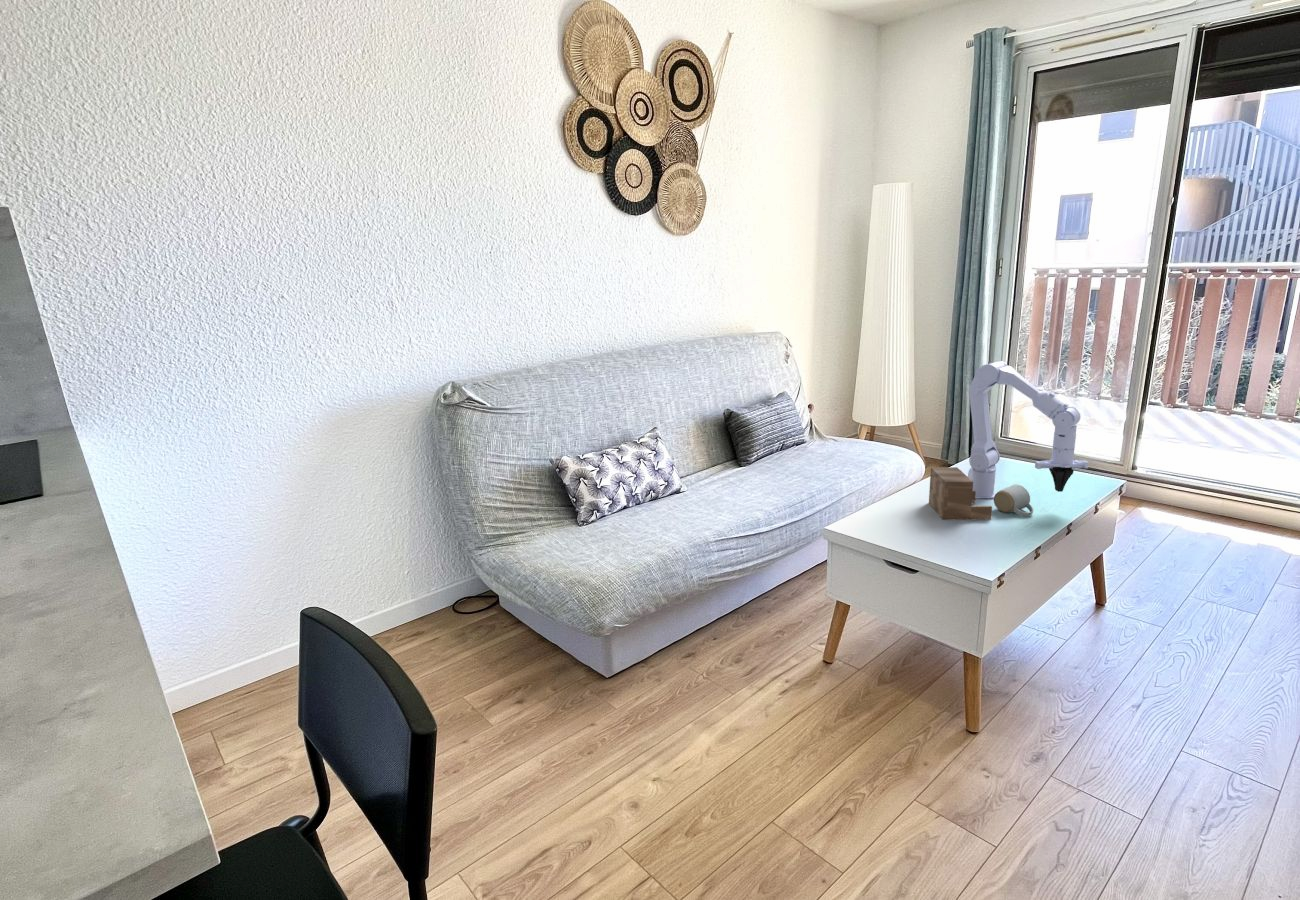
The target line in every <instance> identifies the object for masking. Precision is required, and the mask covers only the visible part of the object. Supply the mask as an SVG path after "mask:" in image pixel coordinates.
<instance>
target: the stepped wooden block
mask: <svg viewBox="0 0 1300 900" xmlns="http://www.w3.org/2000/svg"><path fill="white" fill-rule="evenodd" d="M929 478H930V479H929V492H928V504H929V505H930V506H931V507H932V508H933V510H934V511H935V512H936V513H937V514H938V516H939V517H940V518H941V519H942V520H943V521H944V520H992V513H993V511H992V510H993V506H992V505H975V504H976V498H975V495H976V492H975V491H973V481H972V480H971V479H970V478H969V477H968V475H966V474H965V473H964V472H963V471H962V470H961V469H959V467H957V466H955V467H952V466H950V467H943V466H942V467H930V477H929ZM973 504H974V505H973Z"/></svg>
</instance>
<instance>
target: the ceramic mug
mask: <svg viewBox="0 0 1300 900" xmlns="http://www.w3.org/2000/svg"><path fill="white" fill-rule="evenodd" d="M994 494H995V496H994V498H993V503H994V506H995V508H996V509H997V510H998V511H1000V512H1002V513H1008V514H1009V513H1012V512H1014V513H1015V514H1017V515H1019V516H1021V517H1025V516H1028V517H1031V516H1032V514H1033V513H1034V508H1033V506H1032V505H1031V504H1030V503H1031V495H1030V493H1029V491H1028V490H1027V489H1026V488H1025V487H1024V486H1023V485H1020V484H1013V485H1009V486H1007V487H1005V488H1003V489H1000V490H998V491H997V492H996V493H994ZM1025 508H1026V509H1027V510H1029V512H1026V511H1022V509H1023V510H1024V509H1025ZM1030 515H1031V516H1030Z"/></svg>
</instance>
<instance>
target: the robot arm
mask: <svg viewBox="0 0 1300 900" xmlns="http://www.w3.org/2000/svg"><path fill="white" fill-rule="evenodd" d="M996 384H997V385H1007V386H1011V387H1012V388H1014V389H1015V390H1017V391H1018V392H1020V393H1021V394H1022V395H1024V396H1026V397H1027V398H1028V399H1030V400H1031V401H1032V406H1033V407H1034V408H1035V409H1037V410H1038V411H1039V412H1041V413H1042V414H1044V415H1045V416H1046V417H1047V418H1049V419H1050V420H1051V421H1052V424H1053V426H1054V432H1053V440H1052V441H1053V442H1052V447H1051V448H1052V449H1051V458H1050V459H1046V460H1037V461H1035V464H1034V468H1035V469H1037V470H1041V469H1049V472H1050V475H1051V477H1052V479H1053V484H1054V490H1055V491H1056V492H1061V493H1063V491H1064V489H1065V486H1066V484H1067V483H1068V481H1069V479H1070V478H1071V477H1072V476H1073V475H1074V469H1081V468H1083V469H1089V465H1090V462H1089V461H1087V460H1082V459H1081V460H1079V459H1074V457H1075V447H1076V439H1077V426H1078V425H1077V424H1078V423H1079V422H1080V420H1081V413H1080V412H1079V410H1078V409H1077V408H1076V407H1075V406H1069V404H1068V403H1067V402H1065V403H1064V402H1062V401H1061V400H1060V399H1058V398H1057V397H1056V394H1055V393H1054V392H1053V391H1051V392H1049V391H1047V390H1045V391H1040V390H1039V388H1037V387H1036V386H1034V384H1032V383H1031V382H1030V381H1028V380H1027V379H1026V378H1025V377H1023V376H1022V375H1021V374H1020V373H1019V372H1018V371H1016V370H1015V369H1014V367H1013V366H1010V365H1008V364H1007V363H1006V362H1005V361H1002V360H996V361H994V362H990V363H986V364H983V365H982V366H980V367H979V368H978V369H977V370H976V371H975V372H974V376H973V379H972V380H971V383H970V385H969V389H968V391H969V392H968V393H969V401H970V402H969V403H970V412H971V422H972V433H973V444H972V446H971V449H970V452H971V453H970V457H969V459H968V461H969V462H968V463H969V465H970V468H969V470H968V472H967V477H969V478H970V479H971V480H972V481H973V491H975V492H976V495H975V499H994V496H995V494H996V493H995V484H996V474H997V473H996V470H997V467H996V465H997V464H998V463H999V461H1000V458H1001V455H1000V452H999V451H998V449H997V445H996V442H995V441H994V440H993V434H992V426H991V425H992V424H991V416H990V415H991V414H990V405H989V404H990V403H989V394H988V392H989V391H990V390H991V389H992V388H993V387H994V386H995V385H996Z"/></svg>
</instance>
